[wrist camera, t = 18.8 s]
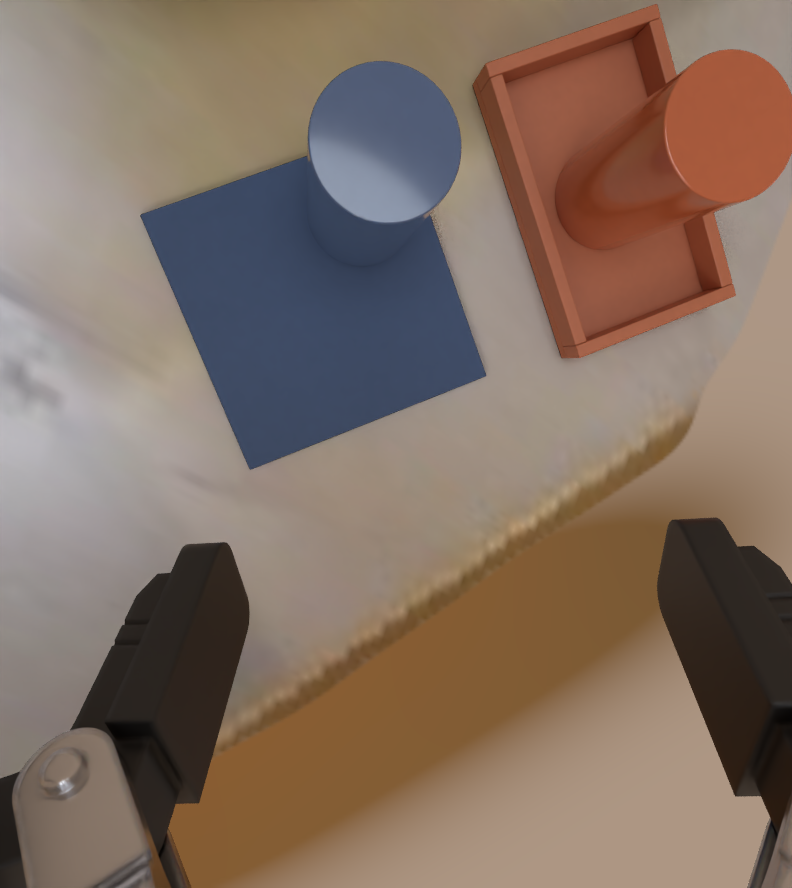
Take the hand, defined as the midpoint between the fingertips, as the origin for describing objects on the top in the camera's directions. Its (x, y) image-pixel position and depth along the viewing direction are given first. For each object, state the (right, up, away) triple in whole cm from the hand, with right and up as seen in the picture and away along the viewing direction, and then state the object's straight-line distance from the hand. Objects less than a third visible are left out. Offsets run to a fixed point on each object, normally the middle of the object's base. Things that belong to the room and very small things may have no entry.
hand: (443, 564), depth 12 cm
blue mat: (-4, +9, +17) cm, 20 cm away
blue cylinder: (-2, +13, +17) cm, 21 cm away
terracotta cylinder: (+9, +14, +18) cm, 24 cm away
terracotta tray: (+9, +14, +18) cm, 25 cm away
